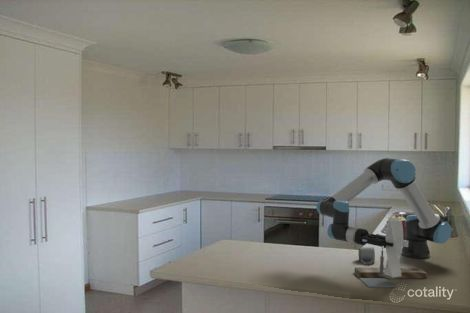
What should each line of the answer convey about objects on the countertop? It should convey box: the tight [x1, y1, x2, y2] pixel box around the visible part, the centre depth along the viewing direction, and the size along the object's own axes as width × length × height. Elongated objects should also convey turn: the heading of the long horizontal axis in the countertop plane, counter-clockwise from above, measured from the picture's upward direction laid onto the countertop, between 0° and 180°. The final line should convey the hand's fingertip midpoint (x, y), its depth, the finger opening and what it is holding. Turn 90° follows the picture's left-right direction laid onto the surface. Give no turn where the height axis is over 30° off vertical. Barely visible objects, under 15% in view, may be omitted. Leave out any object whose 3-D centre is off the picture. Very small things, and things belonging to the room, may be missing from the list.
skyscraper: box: [378, 213, 404, 280], centre depth 203 cm, size 8×8×28 cm
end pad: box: [358, 277, 396, 288], centre depth 204 cm, size 12×12×1 cm
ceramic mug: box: [357, 246, 376, 265], centre depth 240 cm, size 11×8×8 cm
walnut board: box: [354, 267, 428, 279], centre depth 217 cm, size 32×8×3 cm, turn 94°
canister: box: [385, 215, 406, 240], centre depth 296 cm, size 13×13×18 cm
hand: (404, 245), depth 200 cm, fingers closed on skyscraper, 6 cm apart
